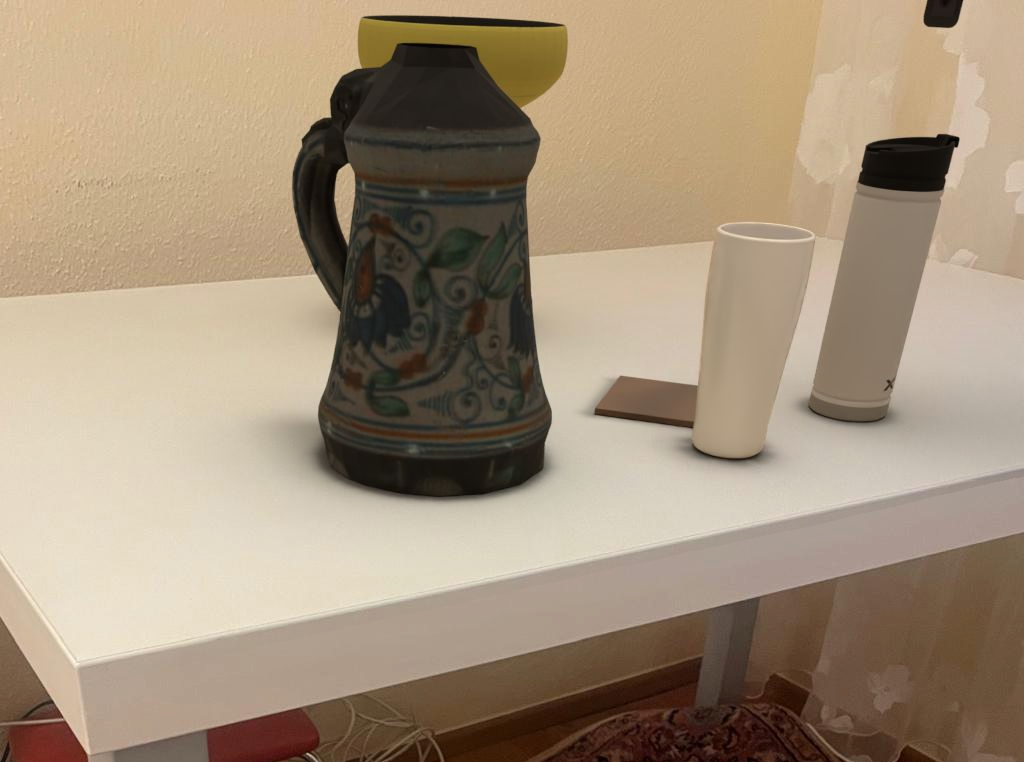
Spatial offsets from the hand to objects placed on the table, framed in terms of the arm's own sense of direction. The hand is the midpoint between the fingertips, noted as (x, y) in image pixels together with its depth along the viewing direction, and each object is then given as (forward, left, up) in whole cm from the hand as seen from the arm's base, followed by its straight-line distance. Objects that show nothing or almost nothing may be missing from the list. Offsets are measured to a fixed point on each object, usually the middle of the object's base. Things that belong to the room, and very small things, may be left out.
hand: (938, 25), depth 83 cm
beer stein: (+29, +25, -27) cm, 47 cm away
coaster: (+14, +5, -27) cm, 31 cm away
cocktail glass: (+38, -11, -27) cm, 48 cm away
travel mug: (0, 0, -27) cm, 27 cm away
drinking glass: (+8, +14, -27) cm, 31 cm away
